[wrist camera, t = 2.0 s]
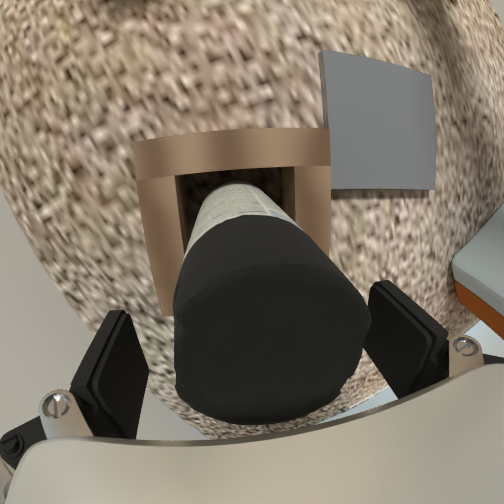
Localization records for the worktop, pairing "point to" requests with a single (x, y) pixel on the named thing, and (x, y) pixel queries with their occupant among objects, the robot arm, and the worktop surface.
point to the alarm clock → (483, 273)
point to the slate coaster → (378, 123)
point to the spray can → (261, 314)
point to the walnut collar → (227, 158)
